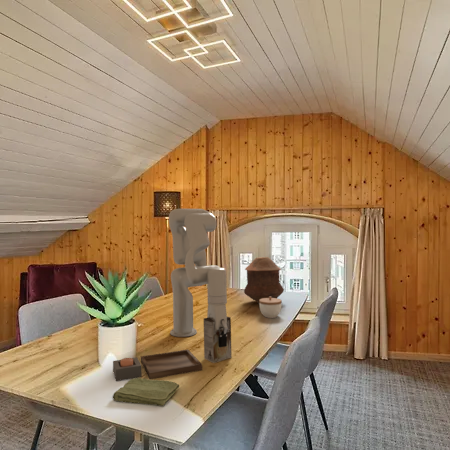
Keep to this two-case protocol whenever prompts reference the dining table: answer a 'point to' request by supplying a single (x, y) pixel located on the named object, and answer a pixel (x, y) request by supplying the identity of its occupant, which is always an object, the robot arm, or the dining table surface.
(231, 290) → the dining table surface
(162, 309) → the dining table surface
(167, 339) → the dining table surface
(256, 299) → the pottery vessel
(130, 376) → the button housing
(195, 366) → the tray
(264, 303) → the lidded bowl
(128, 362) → the button cap
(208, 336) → the coffee box
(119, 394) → the washcloth
